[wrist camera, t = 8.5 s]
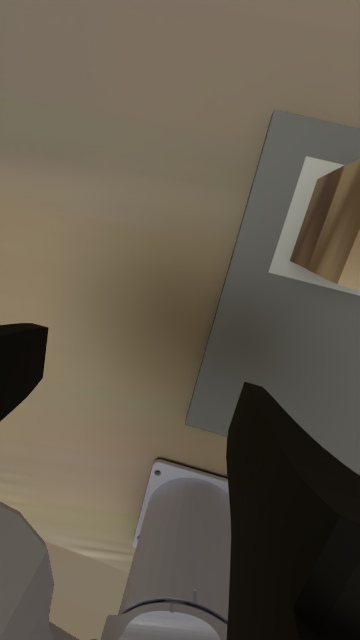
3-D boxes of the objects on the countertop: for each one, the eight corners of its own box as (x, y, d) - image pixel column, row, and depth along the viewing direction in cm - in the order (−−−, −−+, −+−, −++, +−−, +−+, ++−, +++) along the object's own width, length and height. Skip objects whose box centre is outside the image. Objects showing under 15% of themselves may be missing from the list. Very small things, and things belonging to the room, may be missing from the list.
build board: (389, 475, 22) (396, 485, 22) (186, 418, 23) (184, 425, 22) (553, 178, 16) (571, 175, 16) (272, 114, 17) (274, 108, 16)
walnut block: (366, 279, 18) (404, 293, 14) (289, 260, 18) (307, 269, 15) (400, 198, 17) (453, 190, 13) (317, 179, 17) (344, 165, 13)
